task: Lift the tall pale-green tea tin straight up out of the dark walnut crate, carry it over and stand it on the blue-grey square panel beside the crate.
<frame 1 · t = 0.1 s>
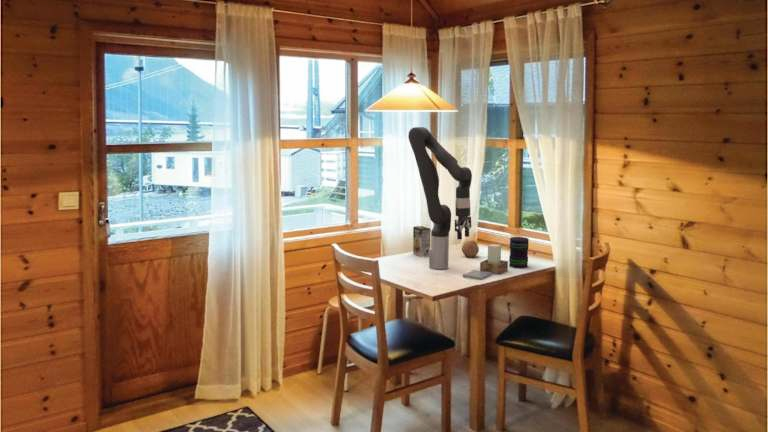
hand: (463, 238, 338), 17 cm above the table, tool pointing down, fingers open, 8 cm apart
onion: (470, 257, 376), on the table
crate: (493, 271, 341), on the table
dark blue cylinder: (518, 266, 352), on the table
blue-grey square panel: (477, 275, 331), on the table
coffee box: (421, 255, 380), on the table
tea tin: (494, 258, 340), in the crate
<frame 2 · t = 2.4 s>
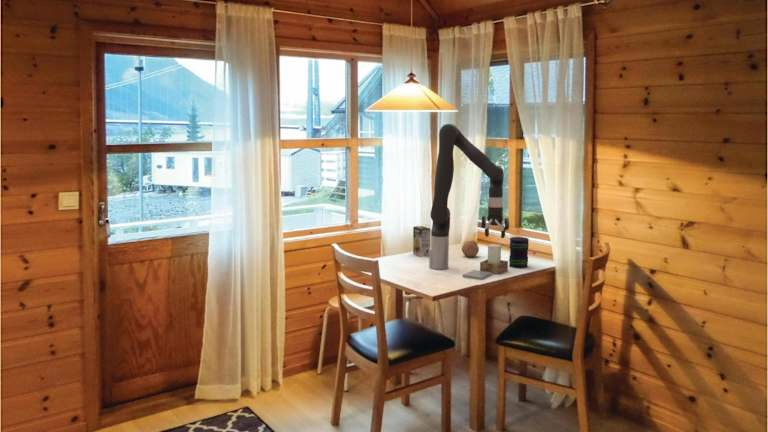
hand: (494, 237, 338), 18 cm above the table, tool pointing down, fingers open, 8 cm apart
nothing on the table moved.
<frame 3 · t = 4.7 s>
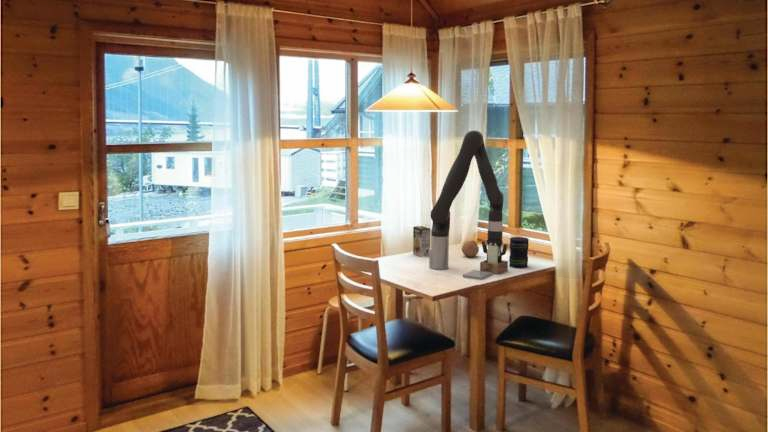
hand: (494, 261, 340), 5 cm above the table, tool pointing down, fingers closed on tea tin, 5 cm apart
tea tin: (494, 258, 340), in the crate, touching gripper
everything else where it was.
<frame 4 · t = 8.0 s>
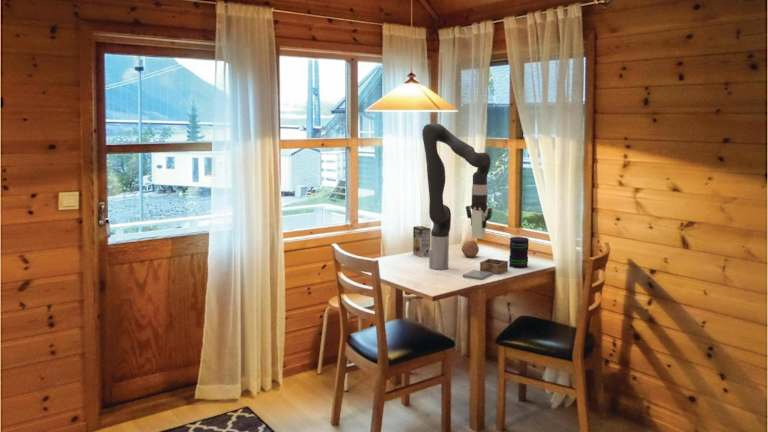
hand: (478, 227, 327), 25 cm above the table, tool pointing down, fingers closed on tea tin, 5 cm apart
tea tin: (478, 223, 327), point 26 cm above the table, touching gripper
everything else where it was.
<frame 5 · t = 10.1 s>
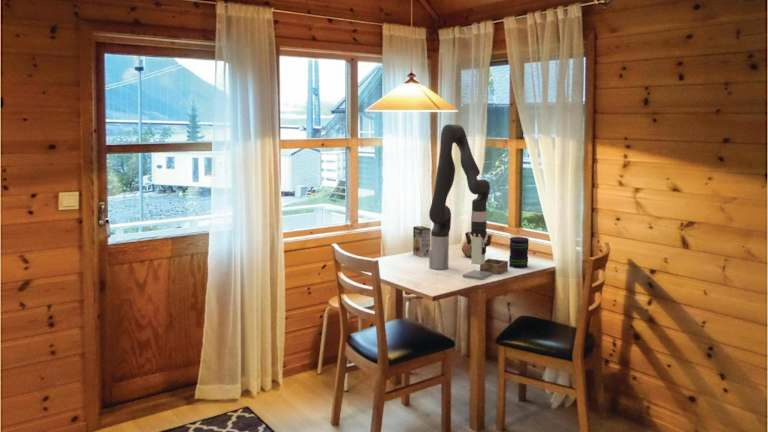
hand: (478, 253, 329), 11 cm above the table, tool pointing down, fingers closed on tea tin, 5 cm apart
tea tin: (478, 249, 329), point 13 cm above the table, touching gripper
everything else where it was.
when the fingers open (7 cm above the table, at t = 11.9 s): tea tin drops 1 cm, resting on blue-grey square panel.
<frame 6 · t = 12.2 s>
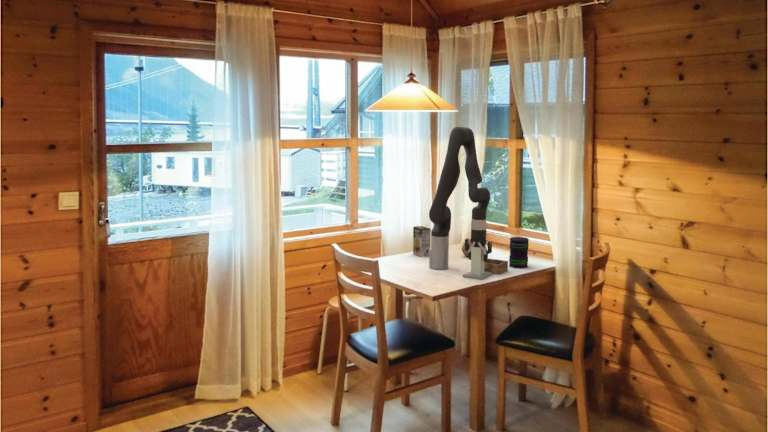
hand: (477, 260, 329), 8 cm above the table, tool pointing down, fingers open, 7 cm apart
tea tin: (477, 260, 330), on the blue-grey square panel, point 8 cm above the table
everything else where it was.
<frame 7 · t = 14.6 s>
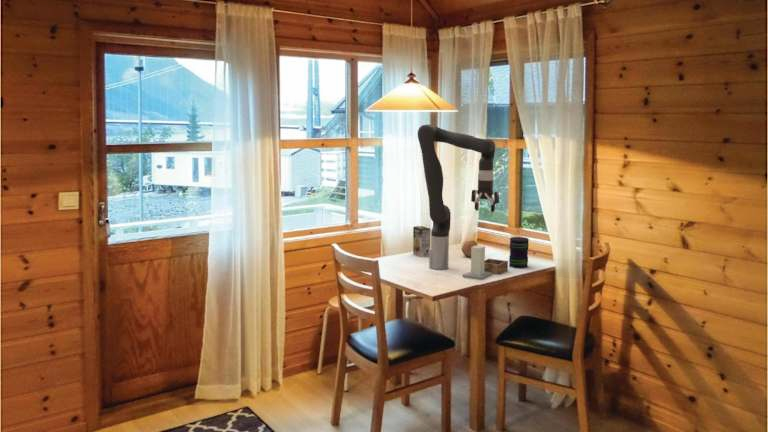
hand: (484, 211, 333), 32 cm above the table, tool pointing down, fingers open, 8 cm apart
nothing on the table moved.
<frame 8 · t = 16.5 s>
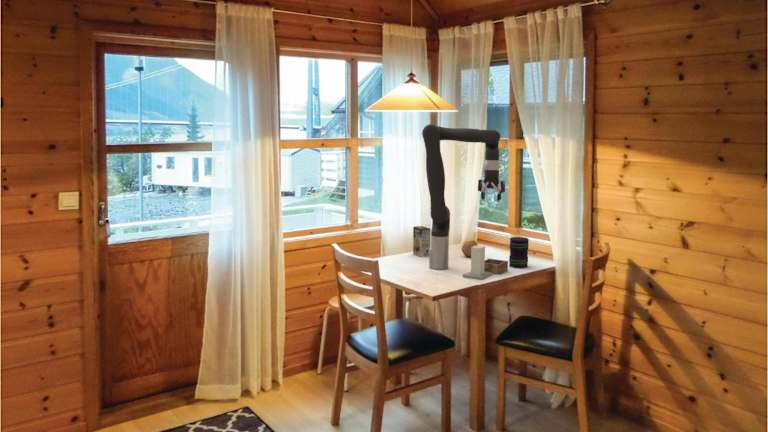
hand: (490, 200, 342), 36 cm above the table, tool pointing down, fingers open, 8 cm apart
nothing on the table moved.
at the end: tea tin inside the target area on the blue-grey square panel (0.1 cm from its centre), point 8.0 cm above the blue-grey square panel's base; tea tin tilted 0°; the gripper is holding nothing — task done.
